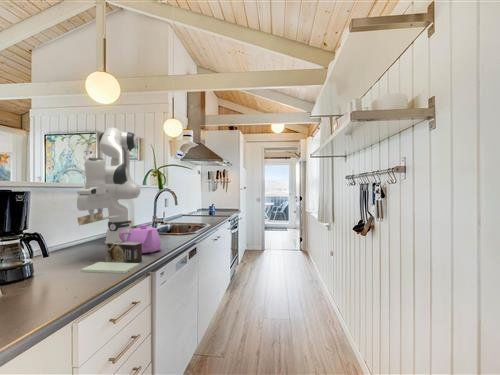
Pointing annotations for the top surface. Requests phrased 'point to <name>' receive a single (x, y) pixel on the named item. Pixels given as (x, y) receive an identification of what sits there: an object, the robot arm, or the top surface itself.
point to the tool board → (110, 267)
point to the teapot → (143, 238)
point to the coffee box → (123, 252)
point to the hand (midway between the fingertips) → (95, 218)
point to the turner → (87, 219)
